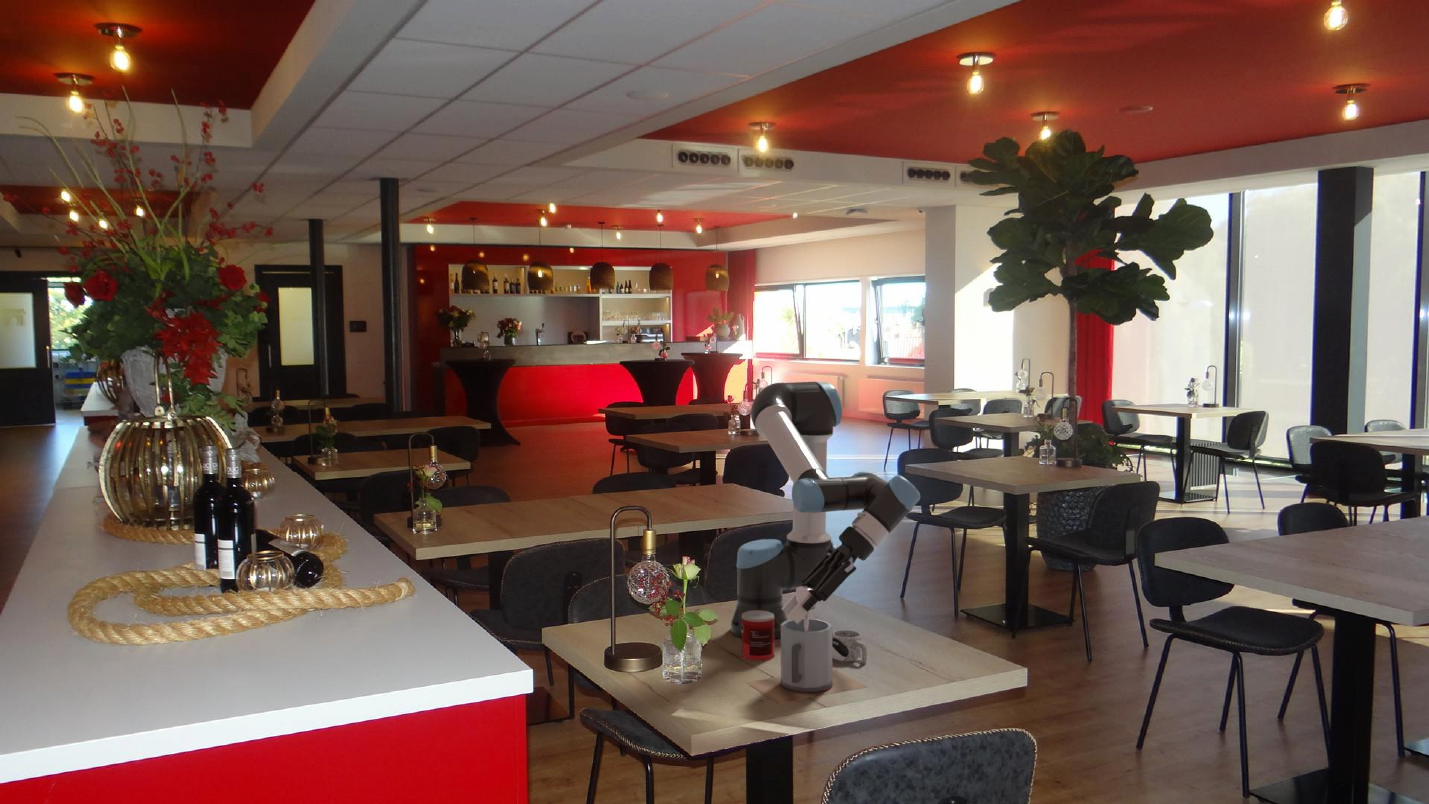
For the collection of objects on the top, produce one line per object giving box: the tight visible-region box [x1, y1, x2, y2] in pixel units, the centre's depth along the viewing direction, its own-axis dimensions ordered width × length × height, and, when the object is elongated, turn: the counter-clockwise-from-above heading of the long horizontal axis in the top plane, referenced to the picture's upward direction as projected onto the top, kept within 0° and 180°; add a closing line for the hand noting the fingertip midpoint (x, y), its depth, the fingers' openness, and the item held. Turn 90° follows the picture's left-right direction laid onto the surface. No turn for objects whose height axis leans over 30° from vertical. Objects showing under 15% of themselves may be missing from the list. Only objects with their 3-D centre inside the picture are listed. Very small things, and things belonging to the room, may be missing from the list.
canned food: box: [741, 610, 775, 662], centre depth 236 cm, size 8×8×11 cm
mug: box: [832, 629, 868, 665], centre depth 233 cm, size 10×7×7 cm, turn 34°
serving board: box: [746, 667, 868, 704], centre depth 215 cm, size 22×14×1 cm, turn 115°
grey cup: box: [780, 617, 833, 694], centre depth 214 cm, size 11×14×13 cm
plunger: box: [795, 586, 818, 632], centre depth 215 cm, size 8×8×18 cm
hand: (789, 616), depth 214 cm, fingers closed on plunger, 4 cm apart
